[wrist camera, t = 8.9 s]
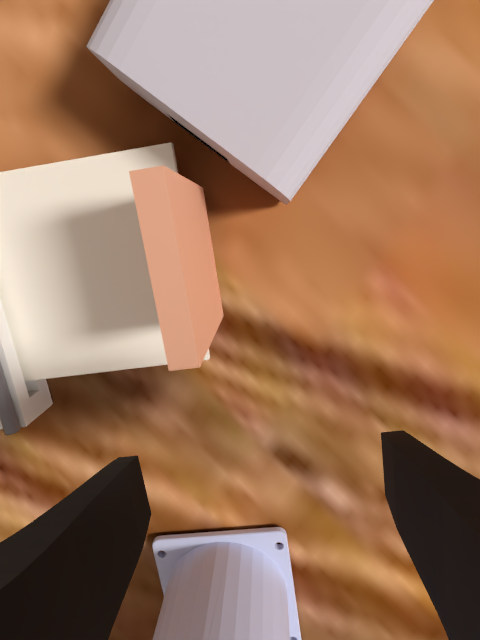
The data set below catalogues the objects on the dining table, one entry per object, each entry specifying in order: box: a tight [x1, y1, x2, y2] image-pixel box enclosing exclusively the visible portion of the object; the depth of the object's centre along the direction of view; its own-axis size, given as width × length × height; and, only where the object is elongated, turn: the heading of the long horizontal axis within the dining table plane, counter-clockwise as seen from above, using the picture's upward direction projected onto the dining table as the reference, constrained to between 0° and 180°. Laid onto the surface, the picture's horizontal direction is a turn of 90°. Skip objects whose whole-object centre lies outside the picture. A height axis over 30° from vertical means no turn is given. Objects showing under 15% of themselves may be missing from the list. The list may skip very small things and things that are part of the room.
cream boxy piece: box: [0, 142, 223, 381], centre depth 15 cm, size 12×10×7 cm
